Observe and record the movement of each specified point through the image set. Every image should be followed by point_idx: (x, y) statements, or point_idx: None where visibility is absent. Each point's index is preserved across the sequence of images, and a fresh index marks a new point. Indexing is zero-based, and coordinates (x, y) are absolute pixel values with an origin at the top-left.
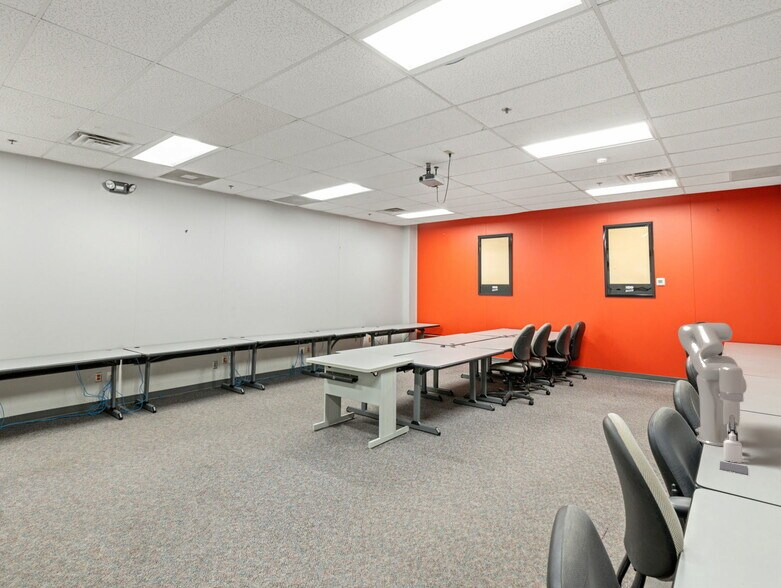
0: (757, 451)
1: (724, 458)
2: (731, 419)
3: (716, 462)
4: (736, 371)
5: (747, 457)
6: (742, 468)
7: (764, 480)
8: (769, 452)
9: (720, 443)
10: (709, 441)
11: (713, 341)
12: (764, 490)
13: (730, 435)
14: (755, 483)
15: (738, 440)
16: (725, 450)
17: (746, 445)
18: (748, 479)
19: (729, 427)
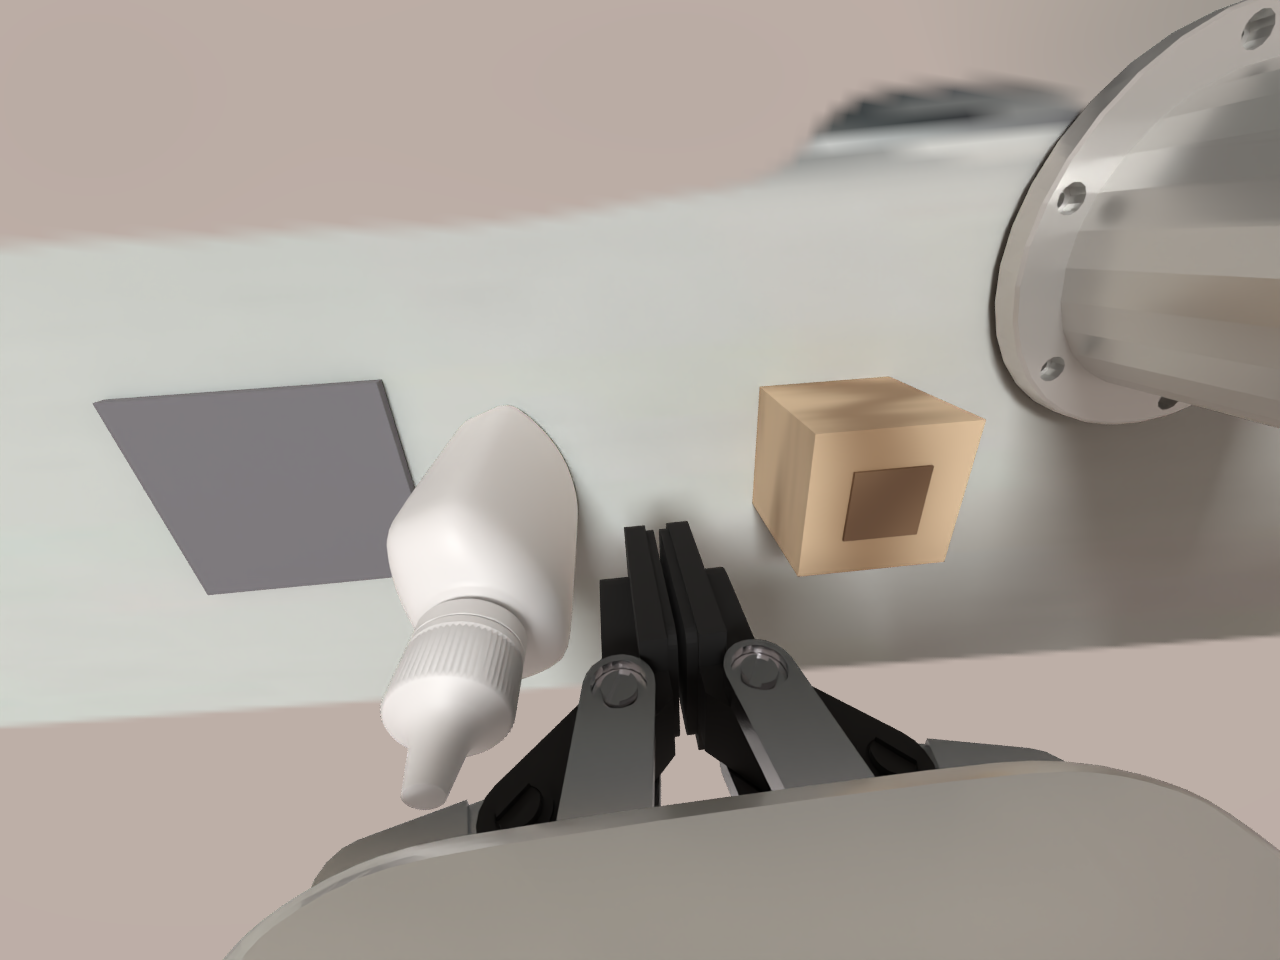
0: (960, 582)
1: (481, 415)
2: None
3: (338, 347)
4: None
5: (740, 546)
6: (329, 556)
7: (213, 671)
8: (969, 637)
9: (1032, 331)
10: (1082, 202)
11: None
12: None
13: (389, 695)
14: (59, 641)
15: (946, 550)
16: (429, 471)
17: (1113, 511)
18: (103, 601)
19: (518, 815)
